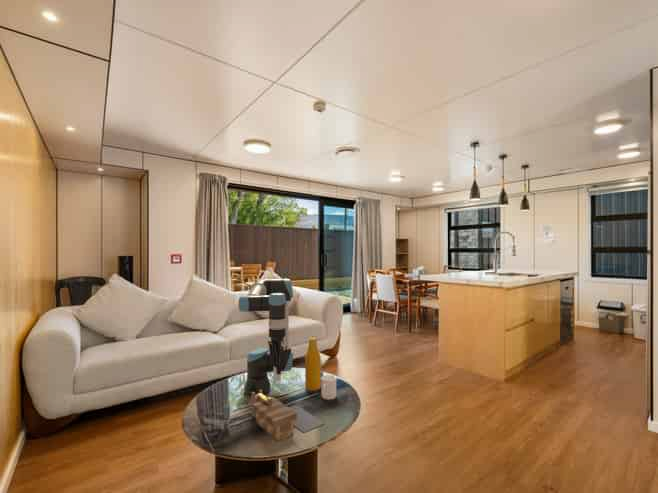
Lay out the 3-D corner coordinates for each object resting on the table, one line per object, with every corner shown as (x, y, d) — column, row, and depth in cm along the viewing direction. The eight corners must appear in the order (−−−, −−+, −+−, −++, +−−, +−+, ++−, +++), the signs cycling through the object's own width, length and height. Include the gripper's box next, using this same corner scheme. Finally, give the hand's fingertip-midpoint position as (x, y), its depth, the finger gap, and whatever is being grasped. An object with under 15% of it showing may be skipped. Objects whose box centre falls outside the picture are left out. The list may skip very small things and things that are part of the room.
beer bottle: (302, 388, 188) (301, 339, 189) (312, 383, 196) (311, 335, 196) (314, 392, 183) (313, 341, 183) (324, 387, 190) (323, 338, 191)
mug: (329, 404, 168) (329, 384, 168) (315, 401, 172) (315, 381, 172) (338, 394, 179) (338, 376, 179) (325, 392, 183) (325, 374, 183)
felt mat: (276, 412, 159) (276, 412, 159) (296, 405, 167) (296, 404, 167) (303, 433, 141) (303, 432, 141) (324, 423, 149) (324, 423, 149)
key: (257, 397, 156) (257, 391, 156) (261, 395, 157) (261, 390, 157) (268, 405, 147) (268, 399, 147) (272, 403, 149) (272, 398, 149)
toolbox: (248, 416, 156) (248, 393, 156) (263, 410, 161) (263, 388, 161) (277, 441, 135) (277, 414, 135) (293, 434, 140) (293, 408, 140)
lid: (252, 412, 150) (252, 403, 150) (273, 405, 157) (273, 397, 157) (274, 430, 134) (274, 421, 134) (296, 422, 141) (296, 412, 141)
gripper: (262, 326, 147) (262, 378, 146) (277, 331, 136) (277, 387, 136) (277, 324, 151) (277, 374, 151) (292, 329, 141) (292, 382, 141)
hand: (277, 380), depth 143 cm, fingers closed
